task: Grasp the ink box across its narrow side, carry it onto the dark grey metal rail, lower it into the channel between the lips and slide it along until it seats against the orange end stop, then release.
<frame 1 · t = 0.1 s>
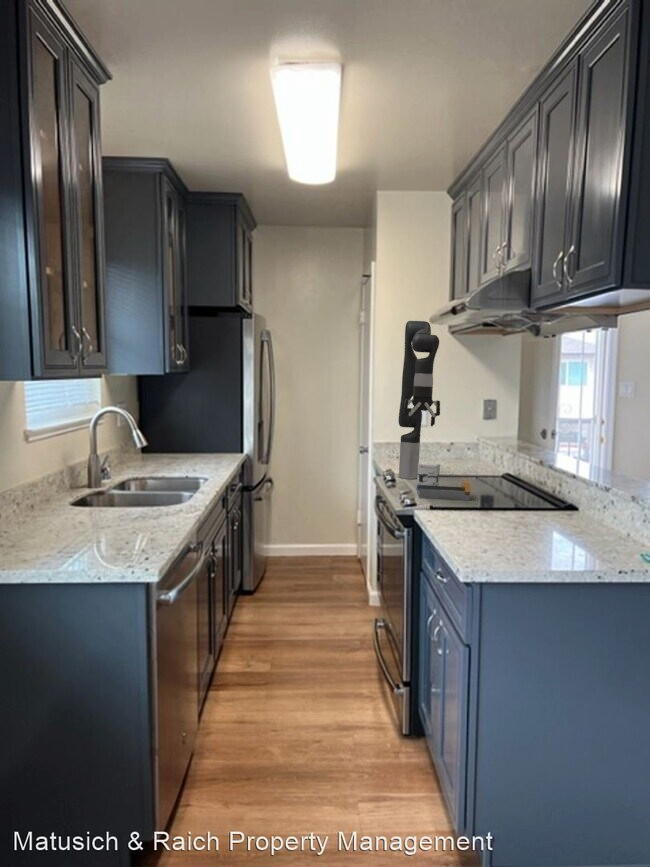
hand: (420, 425, 239), 29 cm above the worktop, fingers open, 8 cm apart
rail: (442, 496, 245), on the worktop
ink box: (427, 491, 257), on the worktop
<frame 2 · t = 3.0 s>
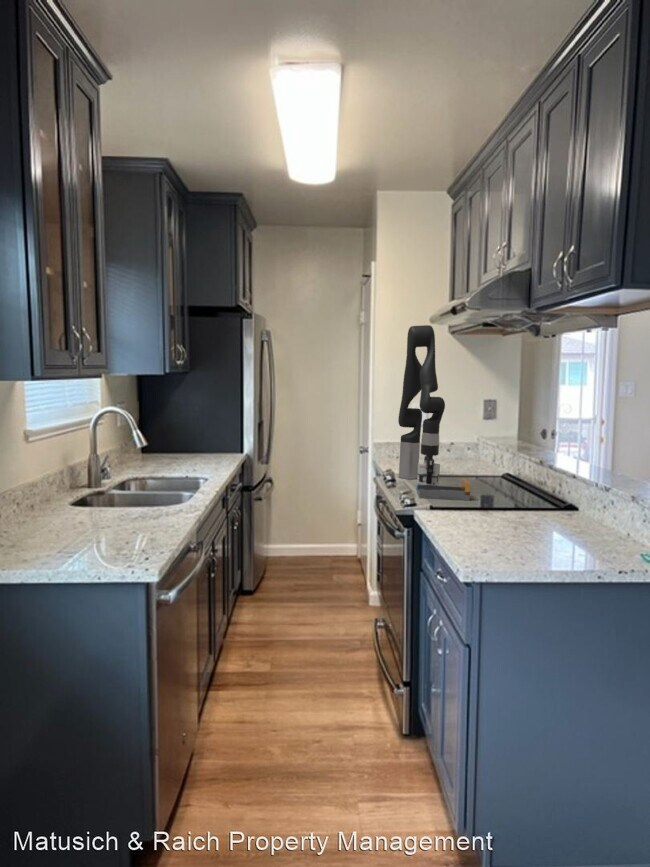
hand: (427, 482, 256), 4 cm above the worktop, fingers closed on ink box, 6 cm apart
ink box: (427, 491, 257), on the worktop, touching gripper
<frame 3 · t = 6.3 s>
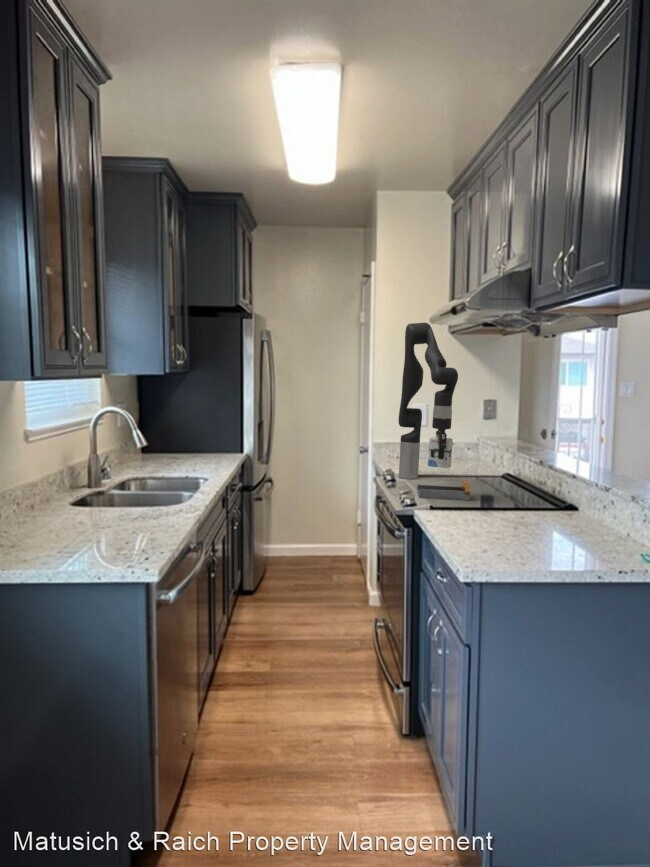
hand: (439, 457, 244), 16 cm above the worktop, fingers closed on ink box, 6 cm apart
ink box: (439, 467, 244), point 12 cm above the worktop, touching gripper
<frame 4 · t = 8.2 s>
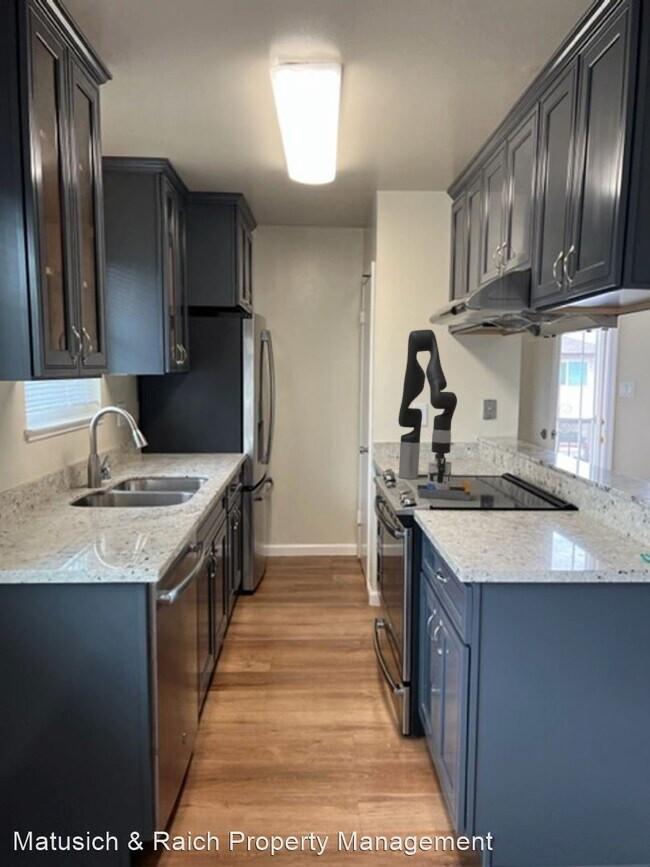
hand: (438, 481, 245), 6 cm above the worktop, fingers closed on ink box, 6 cm apart
ink box: (438, 490, 245), point 2 cm above the worktop, touching gripper
when the fingers open (6 cm above the worktop, at t = 9.8 s): ink box stays where it is, resting on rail.
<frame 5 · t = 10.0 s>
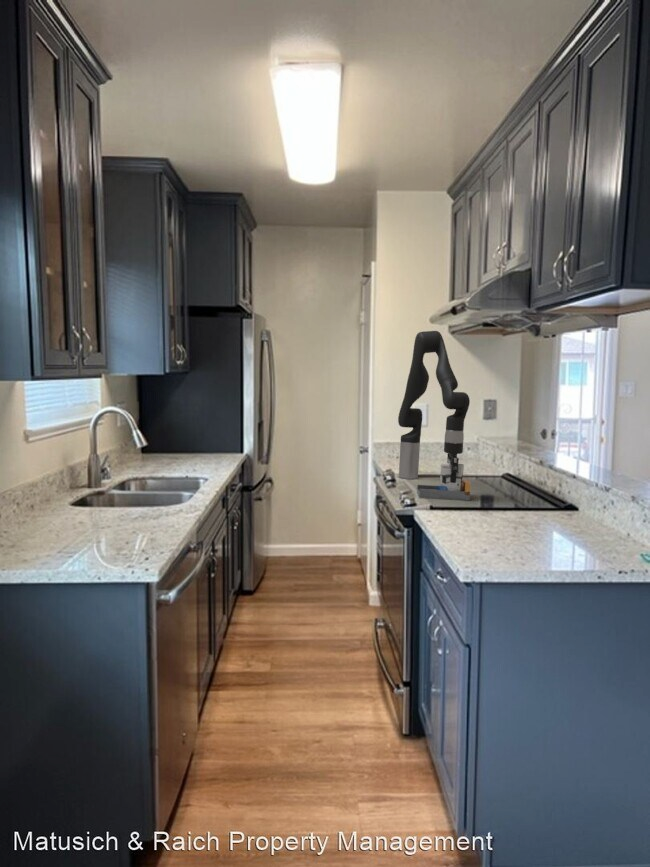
hand: (451, 480, 244), 7 cm above the worktop, fingers open, 8 cm apart
ink box: (450, 492, 245), point 2 cm above the worktop, touching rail
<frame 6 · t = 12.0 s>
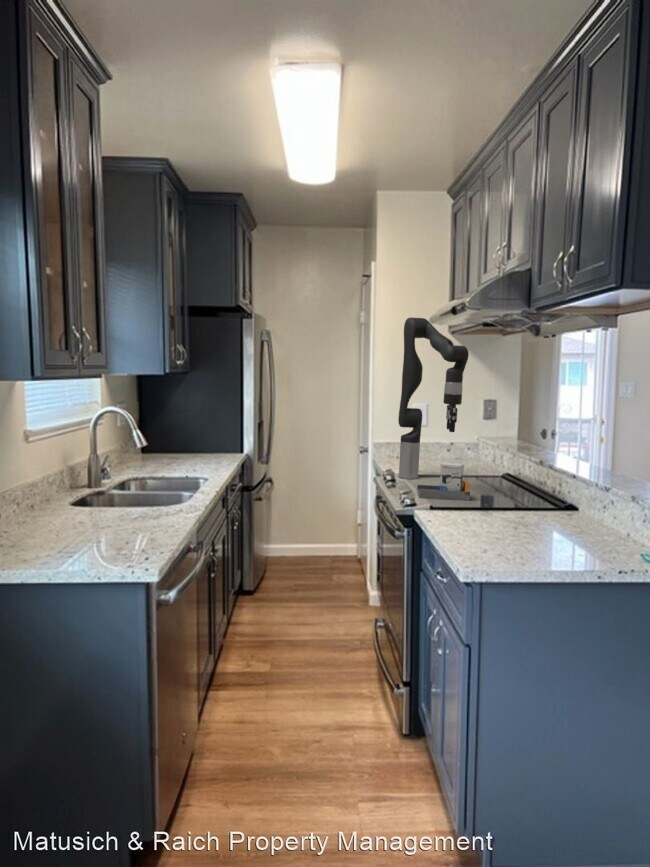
hand: (450, 430, 256), 26 cm above the worktop, fingers open, 8 cm apart
nothing on the worktop moved.
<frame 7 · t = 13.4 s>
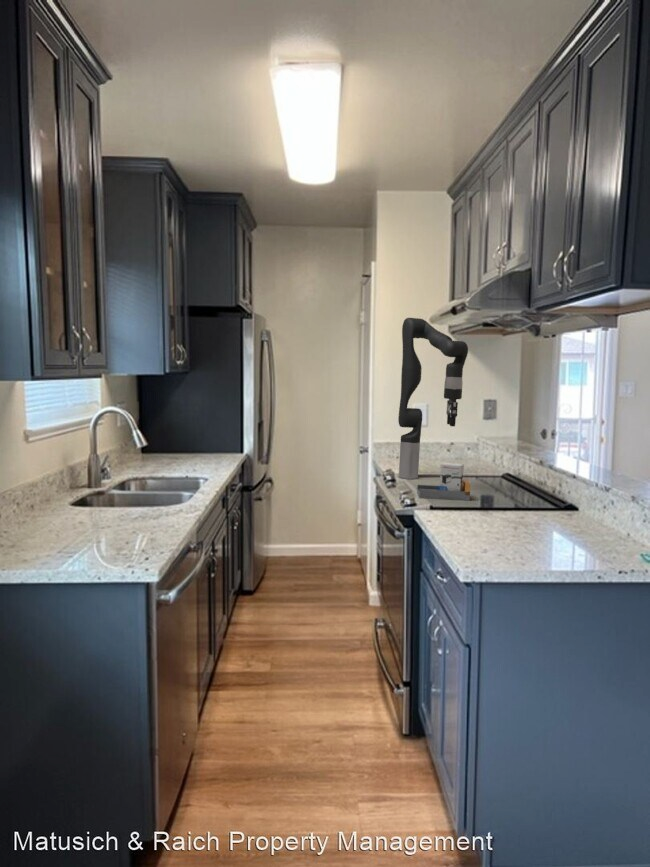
hand: (450, 425, 258), 28 cm above the worktop, fingers open, 8 cm apart
nothing on the worktop moved.
at the end: ink box 0.2 cm from the target spot, point 1.8 cm above the worktop; ink box tilted 0°; the gripper is holding nothing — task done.
